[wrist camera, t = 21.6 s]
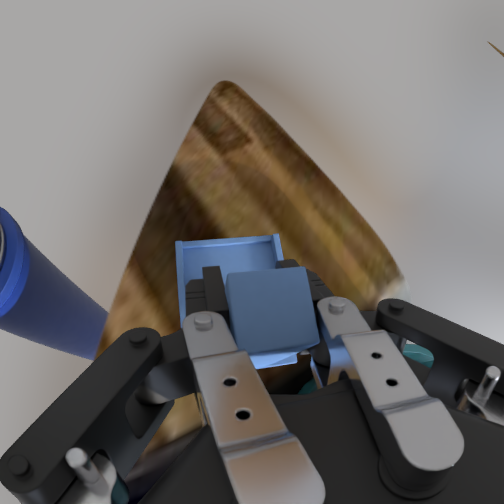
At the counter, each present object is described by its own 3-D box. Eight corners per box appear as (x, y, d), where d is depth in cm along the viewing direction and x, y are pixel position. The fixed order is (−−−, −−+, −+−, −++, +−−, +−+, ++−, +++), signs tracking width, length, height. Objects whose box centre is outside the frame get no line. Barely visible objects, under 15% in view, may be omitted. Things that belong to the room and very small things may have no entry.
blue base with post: (295, 363, 19) (383, 330, 9) (187, 376, 18) (159, 362, 8) (273, 240, 22) (321, 125, 12) (177, 247, 21) (156, 127, 11)
